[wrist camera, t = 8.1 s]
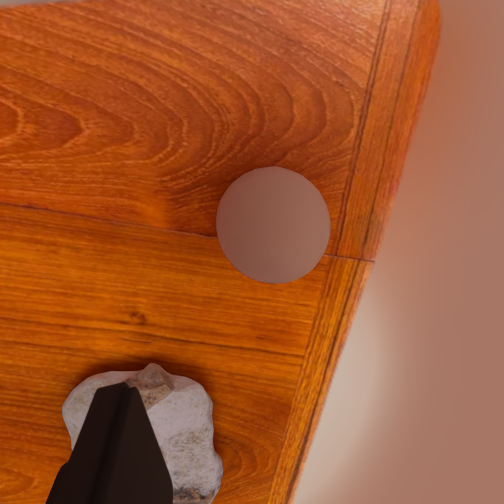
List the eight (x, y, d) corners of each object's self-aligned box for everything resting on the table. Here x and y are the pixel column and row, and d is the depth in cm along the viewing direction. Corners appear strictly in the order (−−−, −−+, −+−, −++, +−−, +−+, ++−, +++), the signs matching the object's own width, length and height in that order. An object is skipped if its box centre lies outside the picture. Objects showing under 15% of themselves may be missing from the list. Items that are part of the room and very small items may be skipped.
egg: (283, 266, 24) (313, 329, 17) (198, 231, 22) (196, 284, 16) (327, 183, 22) (377, 218, 16) (239, 140, 21) (255, 160, 15)
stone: (227, 494, 29) (231, 541, 26) (93, 515, 29) (80, 566, 25) (208, 347, 25) (209, 382, 22) (50, 367, 24) (28, 407, 21)
